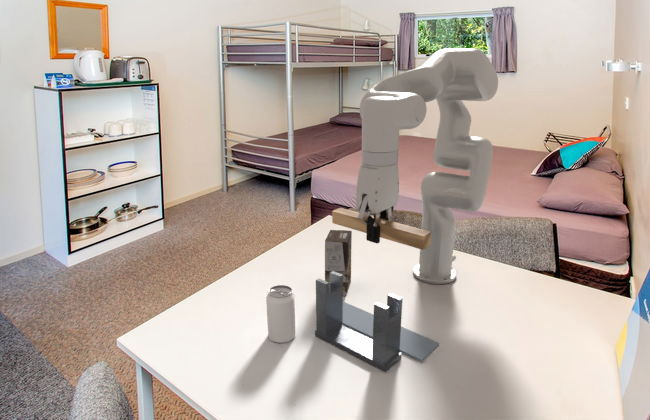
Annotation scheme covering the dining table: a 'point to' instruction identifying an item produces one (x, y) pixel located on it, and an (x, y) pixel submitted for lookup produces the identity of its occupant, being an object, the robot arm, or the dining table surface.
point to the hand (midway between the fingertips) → (378, 238)
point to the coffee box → (338, 256)
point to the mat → (409, 340)
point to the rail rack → (330, 329)
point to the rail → (384, 229)
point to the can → (281, 314)
